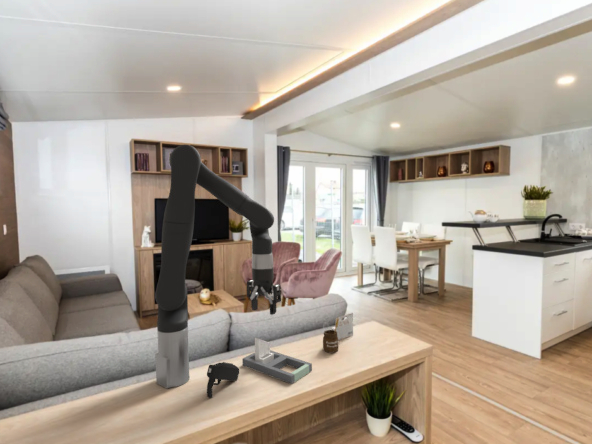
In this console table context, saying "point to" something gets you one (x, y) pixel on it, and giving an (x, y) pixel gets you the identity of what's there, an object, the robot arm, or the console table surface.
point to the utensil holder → (330, 339)
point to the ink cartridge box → (344, 326)
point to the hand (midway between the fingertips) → (263, 312)
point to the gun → (221, 374)
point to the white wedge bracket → (263, 351)
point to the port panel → (279, 367)
